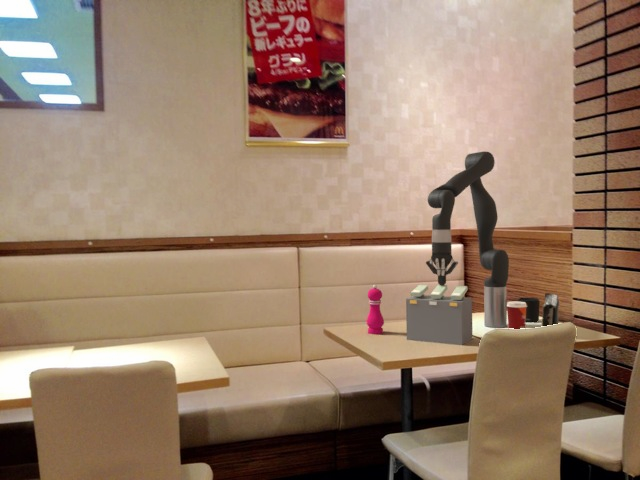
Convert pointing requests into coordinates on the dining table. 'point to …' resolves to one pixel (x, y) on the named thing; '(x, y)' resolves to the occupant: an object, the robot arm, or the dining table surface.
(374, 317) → the pepper mill
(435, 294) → the block
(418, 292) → the block
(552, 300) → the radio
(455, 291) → the rocker
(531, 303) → the pen holder
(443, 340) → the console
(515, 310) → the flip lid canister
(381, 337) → the dining table surface
